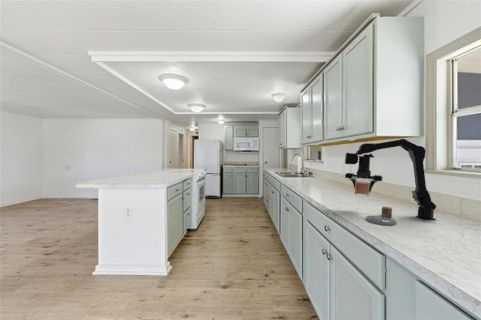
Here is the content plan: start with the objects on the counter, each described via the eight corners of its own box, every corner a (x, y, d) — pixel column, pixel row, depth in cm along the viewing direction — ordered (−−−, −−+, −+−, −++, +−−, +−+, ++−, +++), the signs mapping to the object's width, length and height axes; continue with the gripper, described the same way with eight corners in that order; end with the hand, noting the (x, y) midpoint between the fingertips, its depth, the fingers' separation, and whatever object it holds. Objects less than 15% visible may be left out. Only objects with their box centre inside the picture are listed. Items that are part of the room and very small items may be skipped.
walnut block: (391, 216, 126) (392, 207, 125) (390, 218, 122) (391, 209, 122) (382, 215, 128) (382, 206, 128) (381, 216, 125) (381, 207, 125)
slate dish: (382, 217, 123) (382, 215, 123) (402, 225, 110) (402, 222, 110) (360, 217, 122) (360, 215, 122) (378, 225, 109) (378, 223, 109)
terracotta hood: (370, 194, 134) (370, 182, 134) (368, 196, 129) (368, 183, 128) (357, 193, 138) (357, 180, 138) (354, 194, 133) (355, 182, 133)
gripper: (343, 164, 132) (342, 190, 133) (381, 166, 121) (379, 195, 121) (348, 163, 141) (346, 188, 142) (383, 165, 130) (381, 192, 130)
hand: (362, 191), depth 133 cm, fingers closed on terracotta hood, 7 cm apart
